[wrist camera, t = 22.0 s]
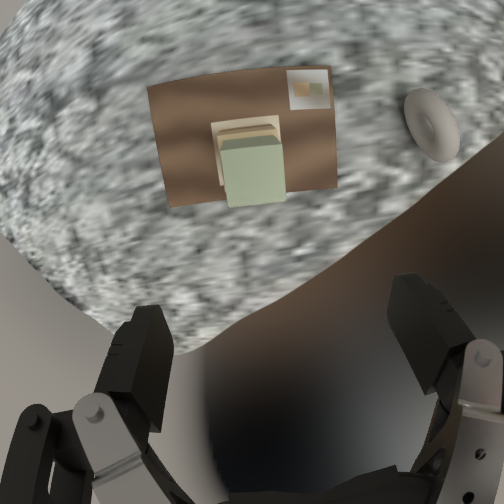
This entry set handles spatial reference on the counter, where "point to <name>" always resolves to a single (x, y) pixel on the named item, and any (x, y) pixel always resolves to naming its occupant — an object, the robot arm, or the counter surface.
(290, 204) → the counter surface
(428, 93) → the donut
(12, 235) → the counter surface
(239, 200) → the sage block
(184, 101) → the baseplate
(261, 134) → the maple block
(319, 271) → the counter surface
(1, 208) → the counter surface
